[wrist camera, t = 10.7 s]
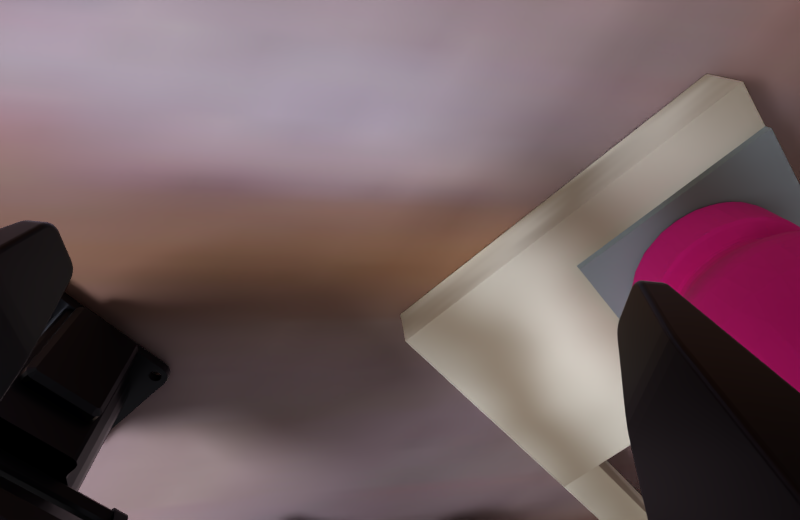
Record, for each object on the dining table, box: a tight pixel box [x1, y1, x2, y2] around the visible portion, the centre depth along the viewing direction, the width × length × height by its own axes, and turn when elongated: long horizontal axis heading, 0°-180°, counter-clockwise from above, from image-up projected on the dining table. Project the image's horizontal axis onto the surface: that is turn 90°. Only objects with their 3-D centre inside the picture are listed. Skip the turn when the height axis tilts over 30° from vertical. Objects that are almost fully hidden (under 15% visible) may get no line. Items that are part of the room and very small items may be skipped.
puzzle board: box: [400, 74, 800, 520], centre depth 25 cm, size 15×22×2 cm
